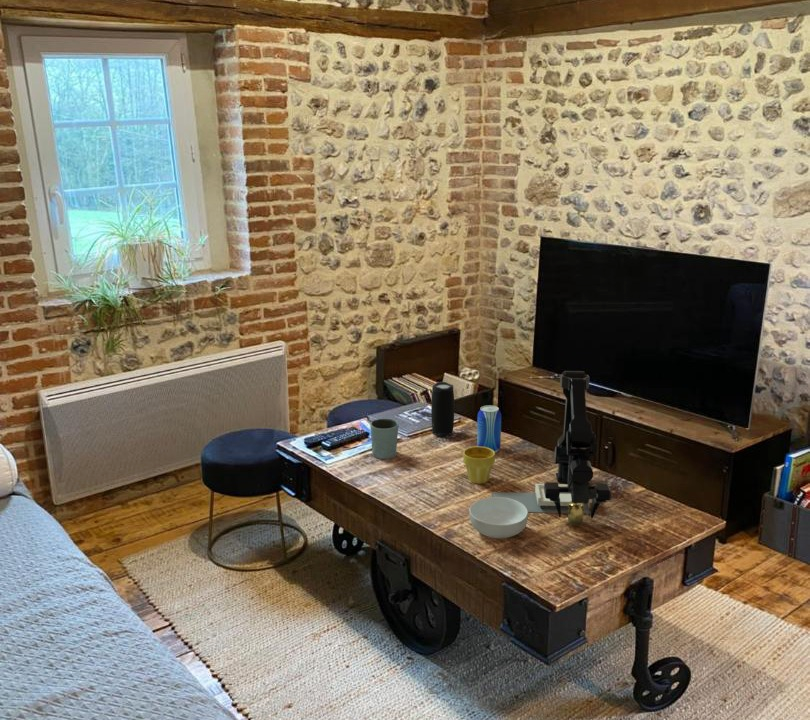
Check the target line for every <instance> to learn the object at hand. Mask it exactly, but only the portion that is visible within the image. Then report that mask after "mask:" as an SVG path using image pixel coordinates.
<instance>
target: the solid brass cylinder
mask: <svg viewBox="0 0 810 720" xmlns="http://www.w3.org/2000/svg"><path fill="white" fill-rule="evenodd" d="M584 515H585V514H584V503H573V502H572V501H570V502H569V509H568V513H567V523H568V524H569V525H571V526H574V527H579V526H583V524H584Z"/></svg>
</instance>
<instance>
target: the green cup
mask: <svg viewBox="0 0 810 720" xmlns="http://www.w3.org/2000/svg"><path fill="white" fill-rule="evenodd" d="M369 425H370V426H369V427H370V439H371V451H372V452H371V453H372V457H373V458H376V459H378V460H389V459H393V458H395V457H396V456H397V450H398V449H397V447H398V434H399V433H398V432H399V422H398V421H397V420H396V419H394V418H386V417H384V418H383V417H381V418H380V417H379V418H377V419H372V421H371V422H370V423H369Z"/></svg>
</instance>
